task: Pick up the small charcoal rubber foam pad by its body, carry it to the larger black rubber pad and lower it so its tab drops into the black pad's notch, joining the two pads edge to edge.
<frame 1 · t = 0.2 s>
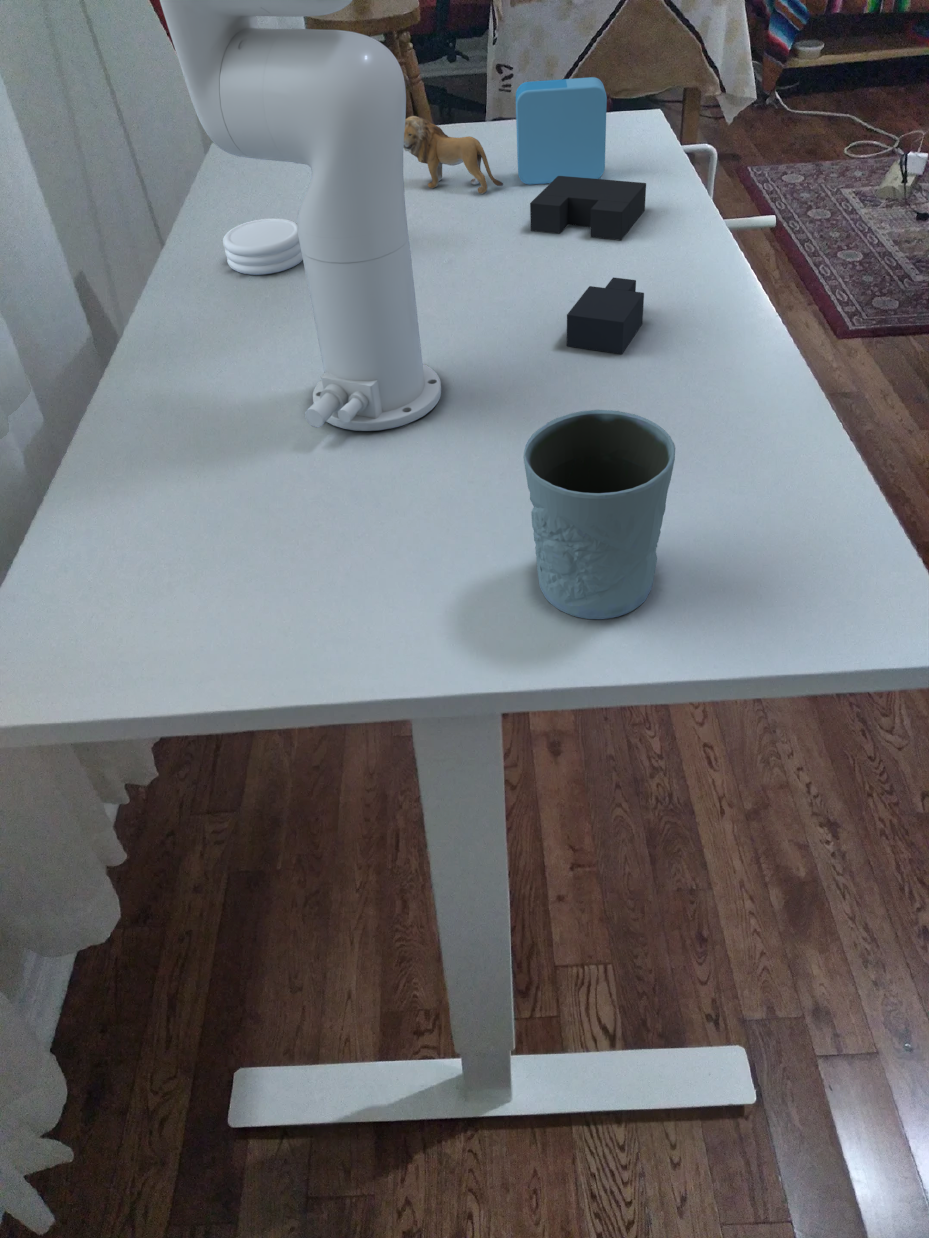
coaster: (268, 261, 123), on the table
notch pad: (588, 220, 125), on the table
embossed blue-grey cup: (595, 585, 73), on the table
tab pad: (604, 335, 102), on the table
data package: (560, 179, 137), on the table
lion figurine: (450, 188, 137), on the table
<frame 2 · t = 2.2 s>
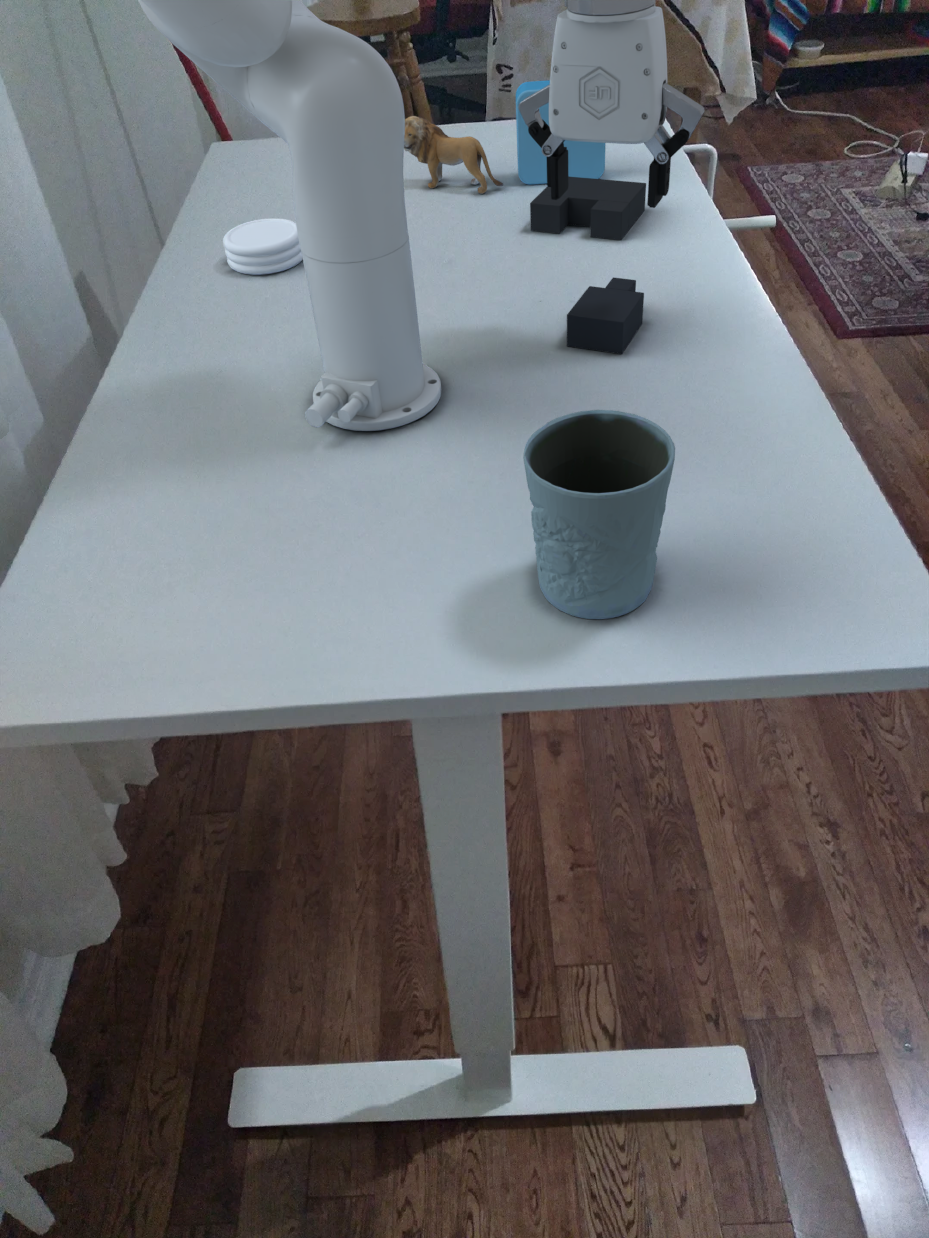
hand: (606, 198, 94), 13 cm above the table, tool pointing down, fingers open, 9 cm apart
nothing on the table moved.
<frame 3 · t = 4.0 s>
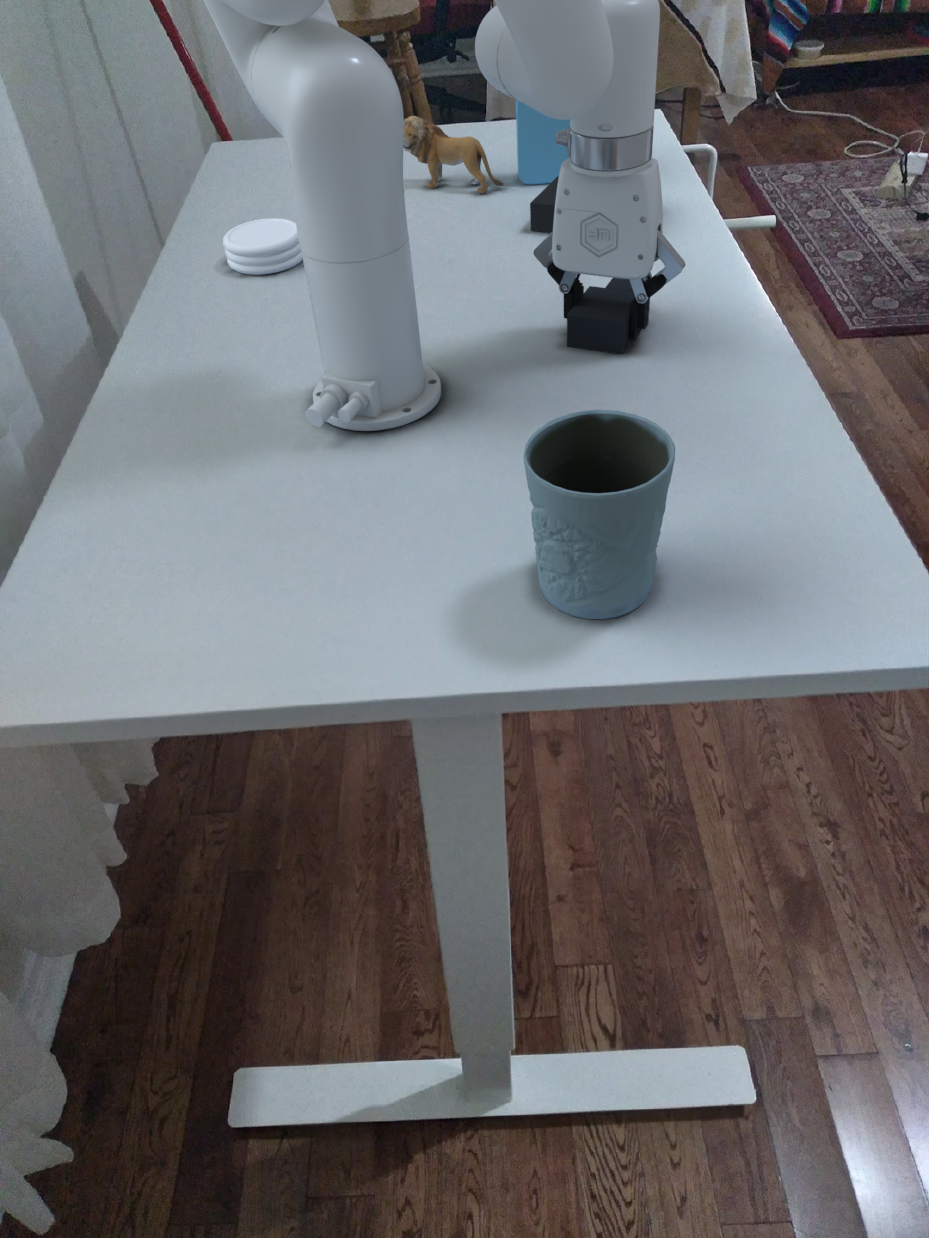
hand: (605, 328, 101), 1 cm above the table, tool pointing down, fingers closed on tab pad, 6 cm apart
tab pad: (605, 335, 102), on the table, touching gripper
everything else where it was.
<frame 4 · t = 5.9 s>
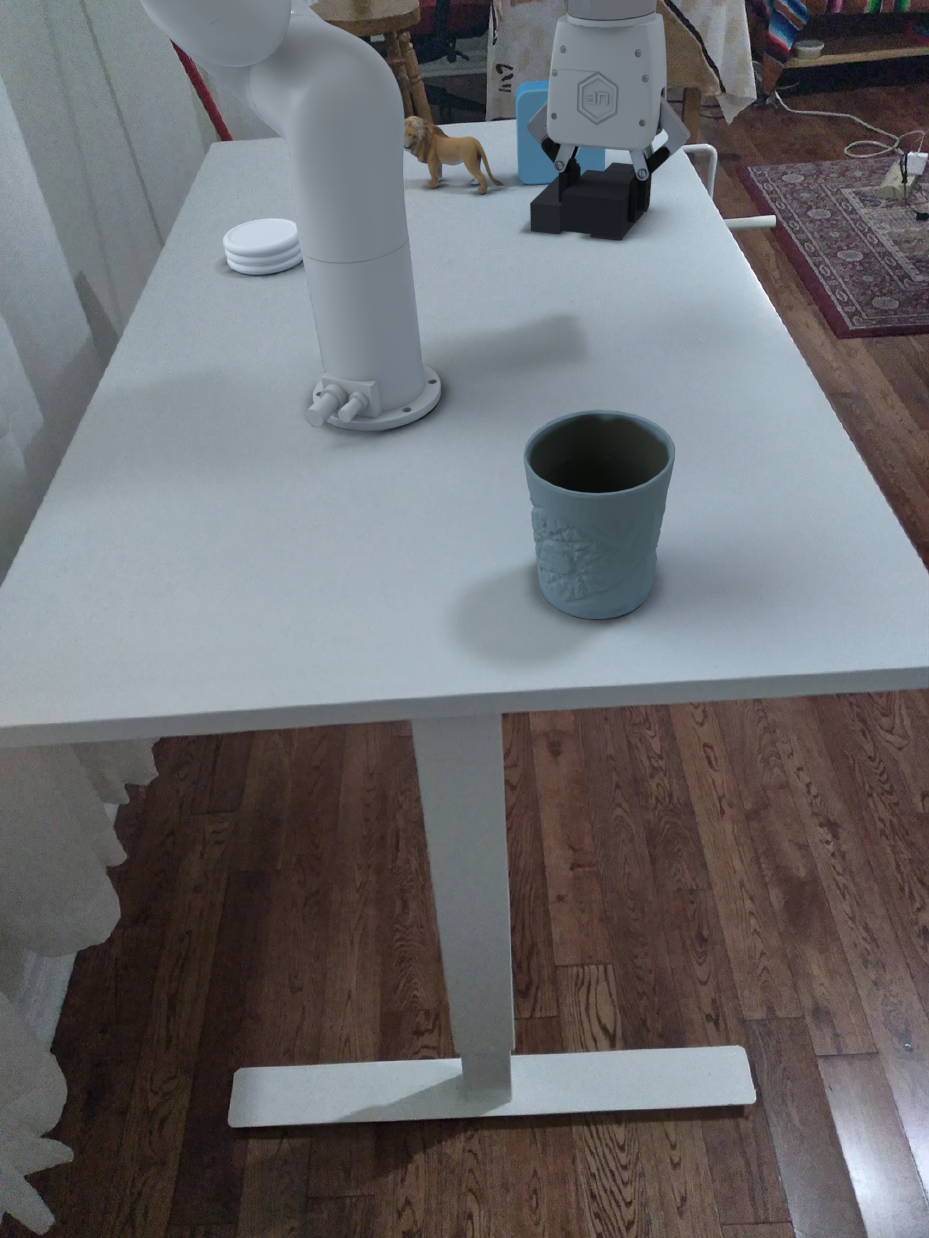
hand: (603, 213, 94), 12 cm above the table, tool pointing down, fingers closed on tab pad, 6 cm apart
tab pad: (602, 221, 94), point 12 cm above the table, touching gripper
everything else where it was.
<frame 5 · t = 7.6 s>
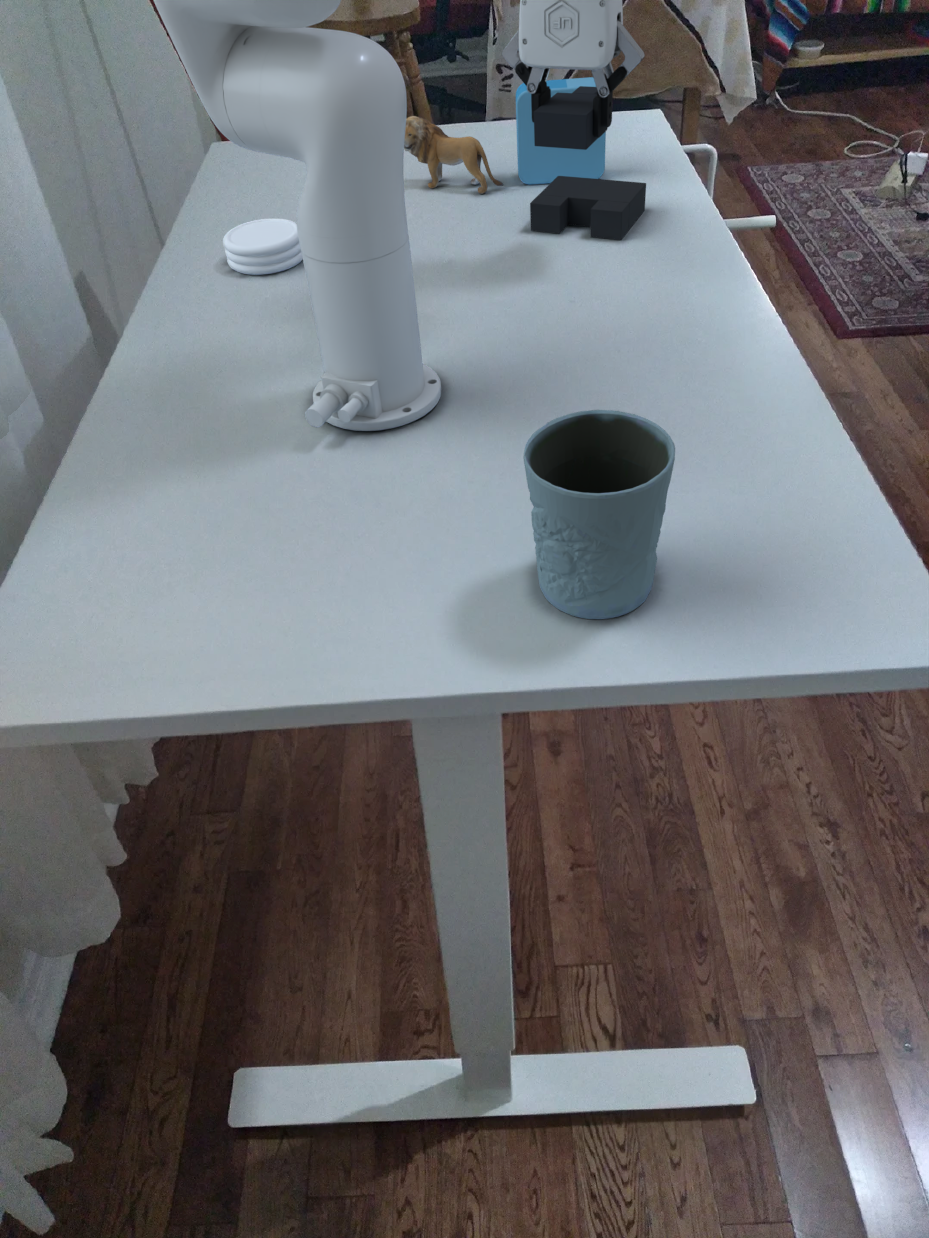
hand: (571, 130, 106), 15 cm above the table, tool pointing down, fingers closed on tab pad, 6 cm apart
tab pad: (571, 137, 107), point 14 cm above the table, touching gripper
everything else where it was.
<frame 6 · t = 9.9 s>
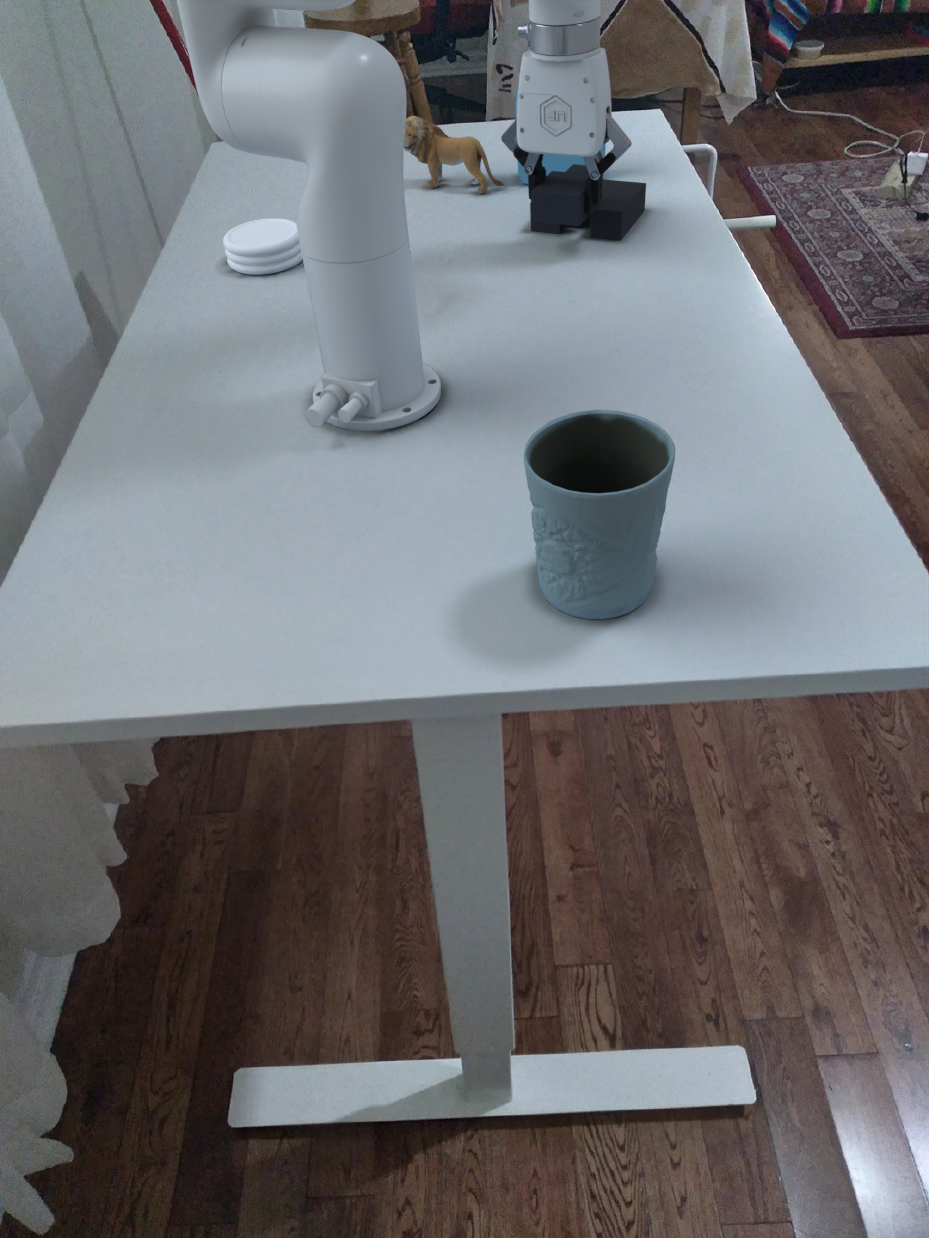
hand: (565, 206, 116), 5 cm above the table, tool pointing down, fingers closed on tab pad, 6 cm apart
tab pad: (565, 213, 116), point 4 cm above the table, touching gripper
everything else where it was.
when the fingers open (1 cm above the table, at t = 11.5 s): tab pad stays where it is, on the table.
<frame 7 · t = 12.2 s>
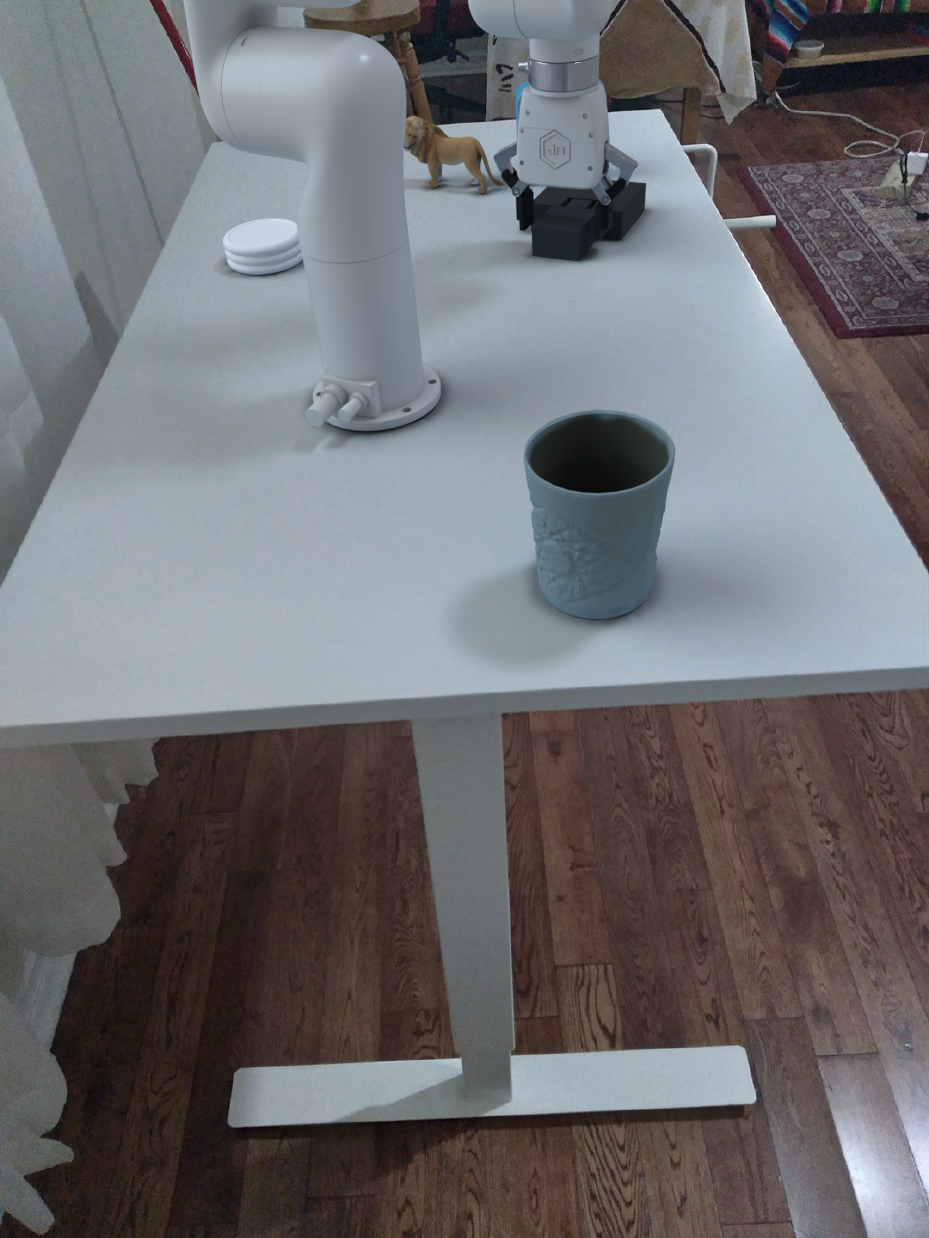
hand: (563, 230, 117), 2 cm above the table, tool pointing down, fingers open, 9 cm apart
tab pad: (565, 247, 119), on the table
everything else where it was.
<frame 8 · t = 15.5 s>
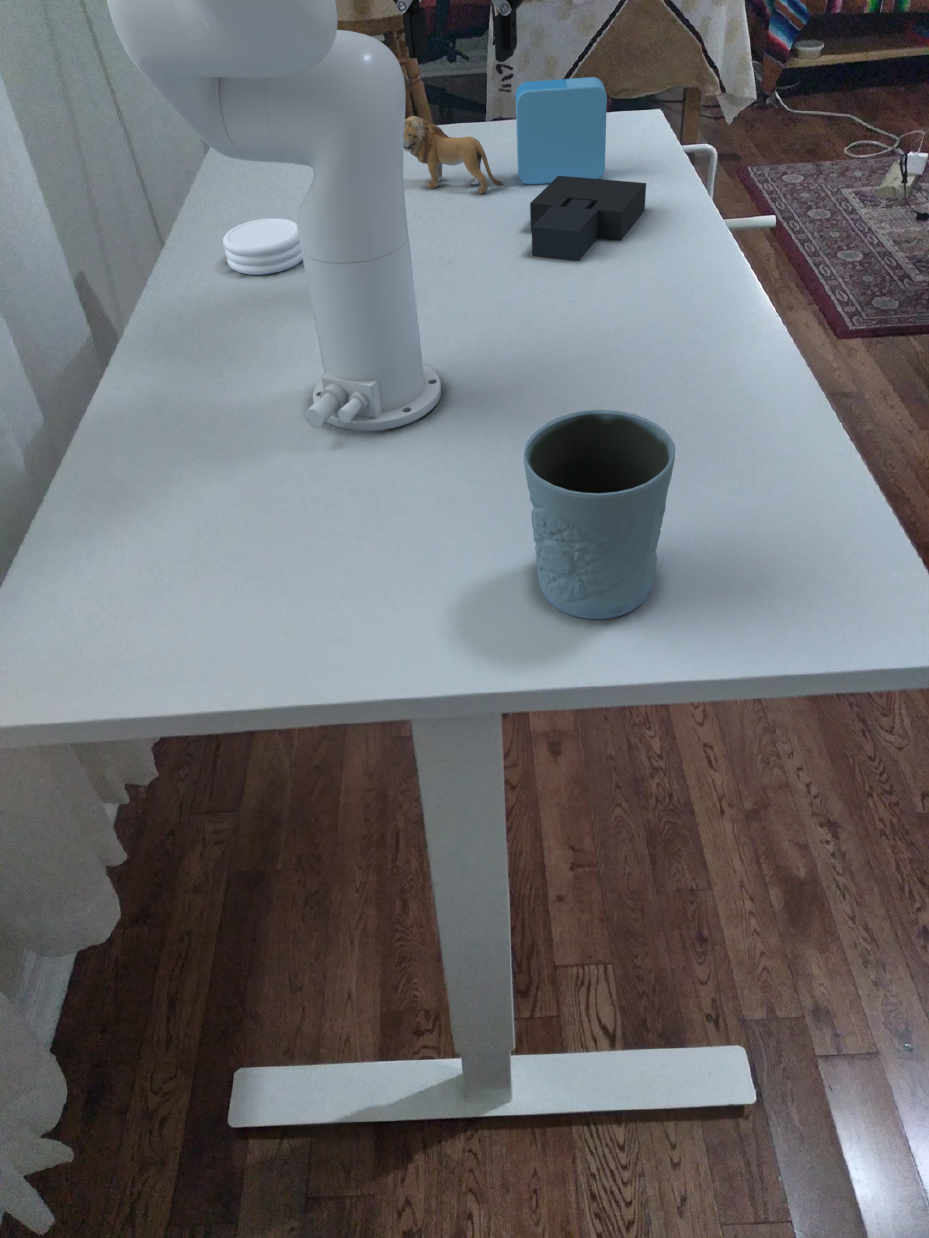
hand: (461, 57, 98), 23 cm above the table, tool pointing down, fingers open, 9 cm apart
nothing on the table moved.
at the end: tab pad 0.3 cm from the target spot on the table beside the notch pad, on the table; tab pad tilted 0° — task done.
